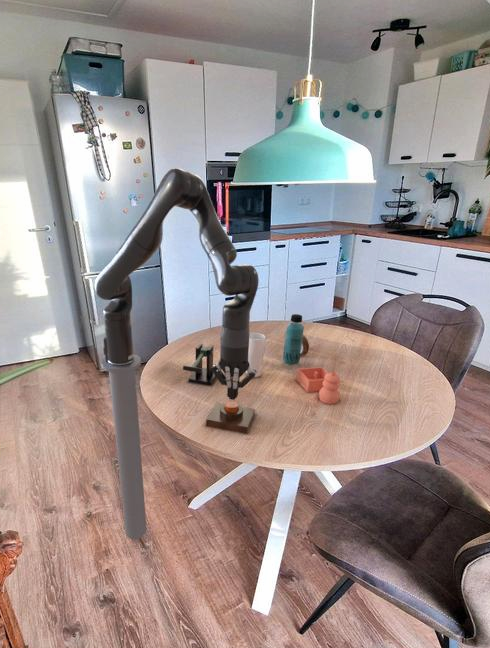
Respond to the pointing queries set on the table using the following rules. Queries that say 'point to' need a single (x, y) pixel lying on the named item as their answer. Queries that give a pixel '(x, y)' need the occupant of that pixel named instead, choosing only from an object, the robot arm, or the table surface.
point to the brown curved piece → (303, 345)
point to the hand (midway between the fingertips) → (232, 398)
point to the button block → (231, 418)
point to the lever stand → (206, 374)
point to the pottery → (320, 383)
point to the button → (231, 407)
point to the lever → (197, 361)
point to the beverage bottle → (293, 341)
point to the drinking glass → (256, 352)
